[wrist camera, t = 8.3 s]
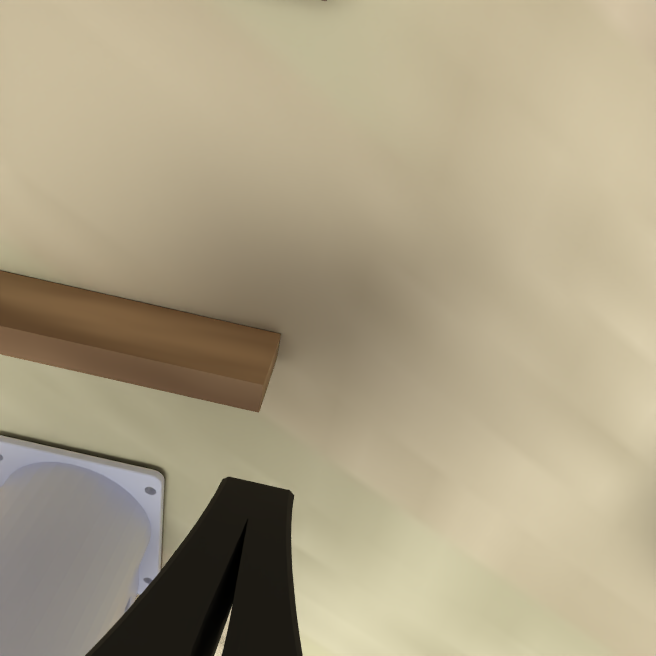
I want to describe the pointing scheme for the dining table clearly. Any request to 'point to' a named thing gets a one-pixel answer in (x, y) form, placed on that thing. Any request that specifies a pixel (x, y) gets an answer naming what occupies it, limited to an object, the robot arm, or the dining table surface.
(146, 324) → the bay
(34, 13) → the dining table surface
